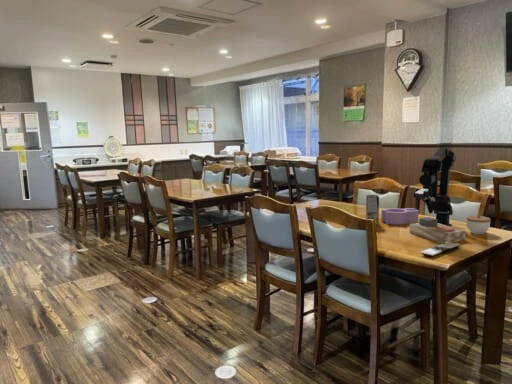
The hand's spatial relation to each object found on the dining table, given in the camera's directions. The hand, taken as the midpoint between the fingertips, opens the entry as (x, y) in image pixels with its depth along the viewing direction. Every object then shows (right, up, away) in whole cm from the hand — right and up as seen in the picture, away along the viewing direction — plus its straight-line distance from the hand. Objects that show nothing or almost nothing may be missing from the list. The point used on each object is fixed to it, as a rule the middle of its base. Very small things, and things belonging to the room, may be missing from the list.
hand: (430, 213), depth 197 cm
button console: (+2, -11, -3) cm, 12 cm away
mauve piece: (-5, -7, +29) cm, 30 cm away
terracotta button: (+3, -11, -8) cm, 14 cm away
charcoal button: (0, -7, +2) cm, 7 cm away
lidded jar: (+25, -10, +1) cm, 27 cm away
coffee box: (-22, -7, +27) cm, 36 cm away
